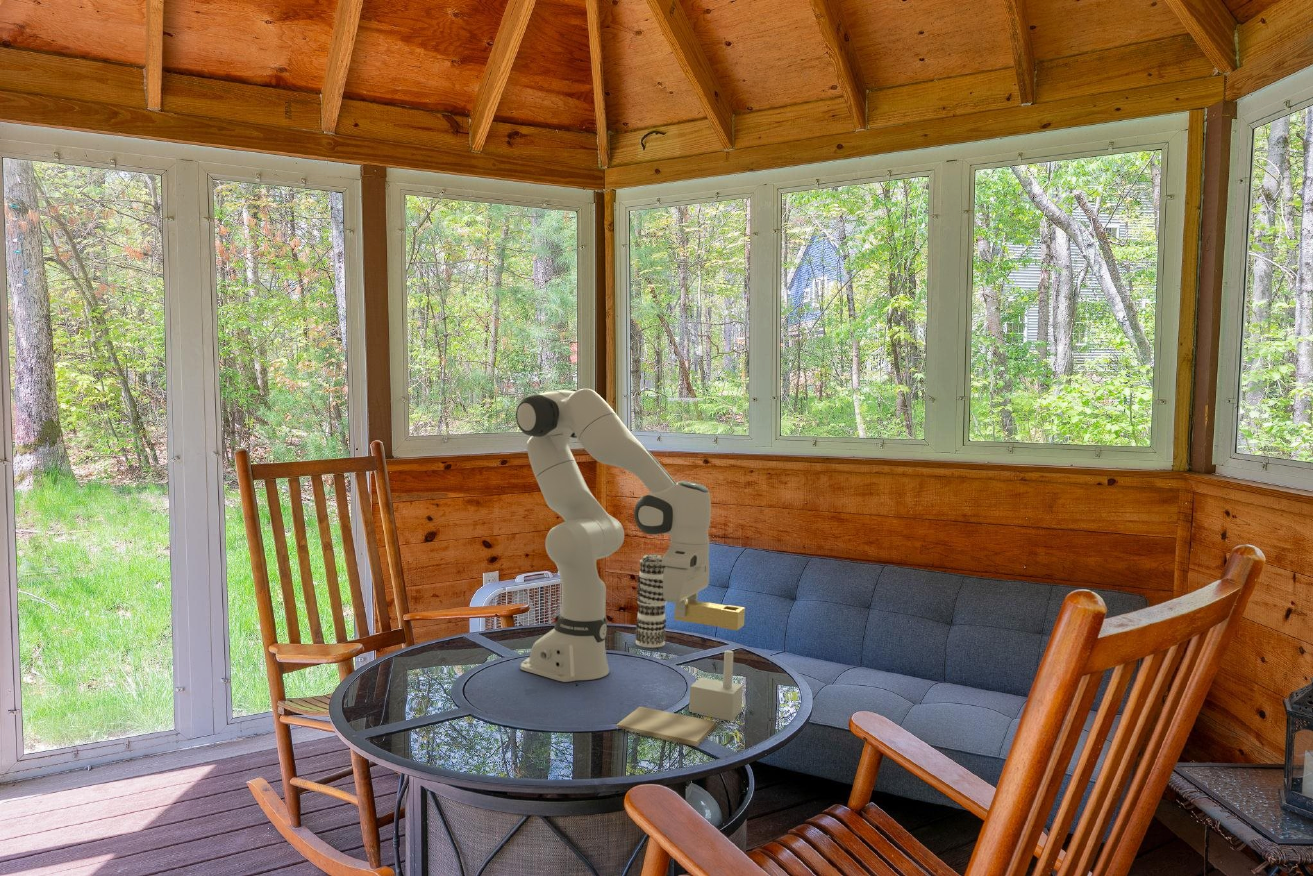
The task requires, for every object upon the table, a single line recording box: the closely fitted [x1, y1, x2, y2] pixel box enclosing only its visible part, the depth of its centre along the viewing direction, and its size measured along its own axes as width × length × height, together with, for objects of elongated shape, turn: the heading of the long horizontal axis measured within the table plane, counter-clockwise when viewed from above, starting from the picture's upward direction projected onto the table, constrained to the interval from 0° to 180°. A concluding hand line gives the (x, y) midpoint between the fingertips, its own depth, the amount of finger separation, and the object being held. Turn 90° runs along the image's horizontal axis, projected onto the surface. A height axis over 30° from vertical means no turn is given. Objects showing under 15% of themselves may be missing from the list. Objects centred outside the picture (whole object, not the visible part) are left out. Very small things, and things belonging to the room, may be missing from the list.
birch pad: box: [615, 706, 717, 747], centre depth 180 cm, size 18×12×1 cm, turn 67°
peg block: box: [688, 650, 744, 722], centre depth 190 cm, size 10×7×14 cm
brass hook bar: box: [674, 598, 746, 631], centre depth 191 cm, size 15×5×4 cm, turn 67°
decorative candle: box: [635, 554, 668, 648], centre depth 241 cm, size 9×9×25 cm
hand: (685, 614), depth 193 cm, fingers closed on brass hook bar, 4 cm apart
